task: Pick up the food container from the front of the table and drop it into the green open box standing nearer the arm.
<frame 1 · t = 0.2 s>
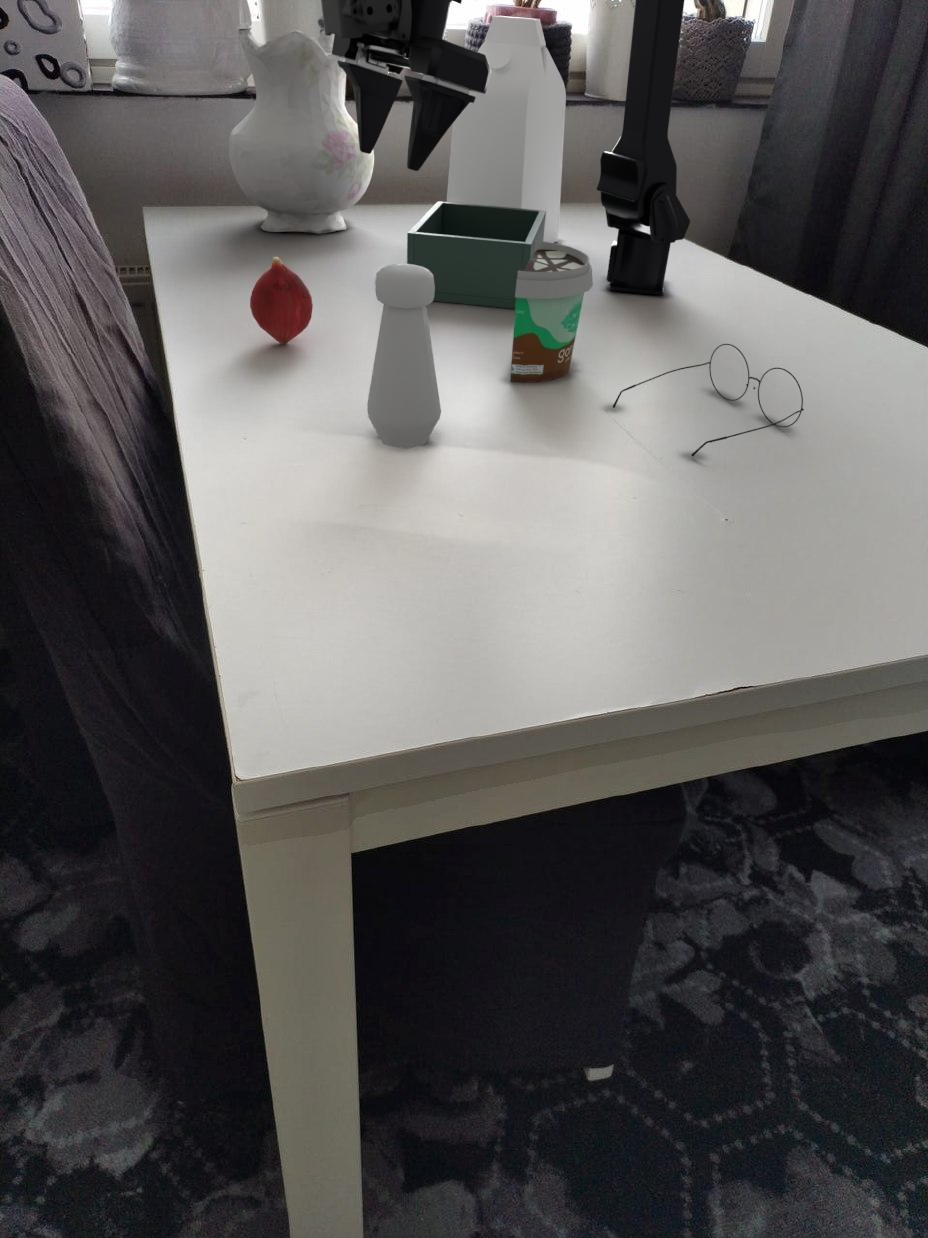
hand: (387, 160, 84), 15 cm above the table, tool pointing down, fingers open, 9 cm apart
milk: (501, 242, 124), on the table
ceramic pitcher: (309, 224, 127), on the table
salt shaker: (403, 439, 71), on the table
eyeglasses: (701, 423, 76), on the table
green open box: (477, 283, 107), on the table
food container: (549, 369, 85), on the table
onion: (284, 345, 87), on the table
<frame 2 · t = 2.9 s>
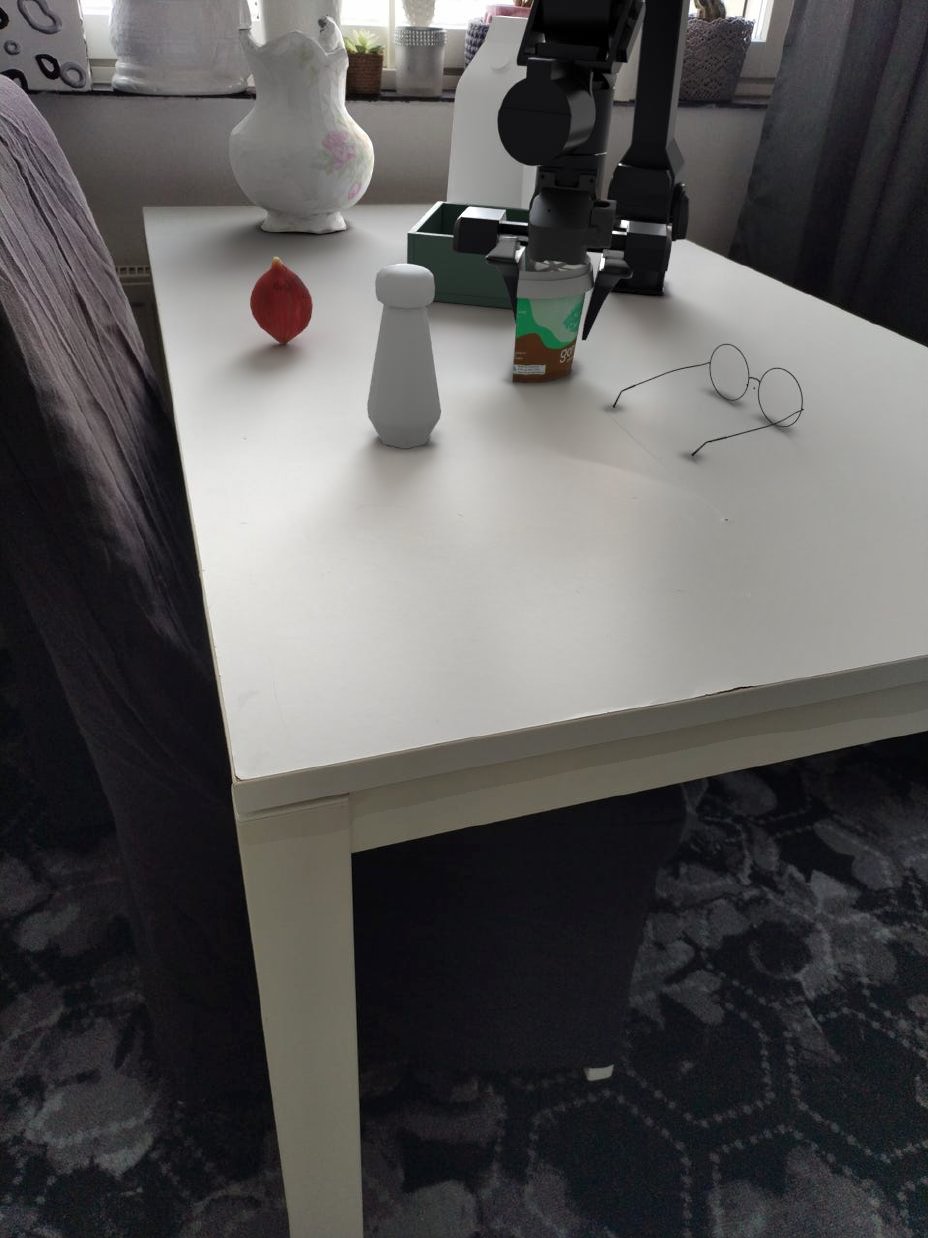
hand: (551, 335, 83), 3 cm above the table, tool pointing down, fingers closed on food container, 6 cm apart
food container: (551, 369, 85), on the table, touching gripper
everything else where it was.
when the fingers open (6 cm above the table, at t = 8.8 s): food container drops 2 cm, resting on green open box.
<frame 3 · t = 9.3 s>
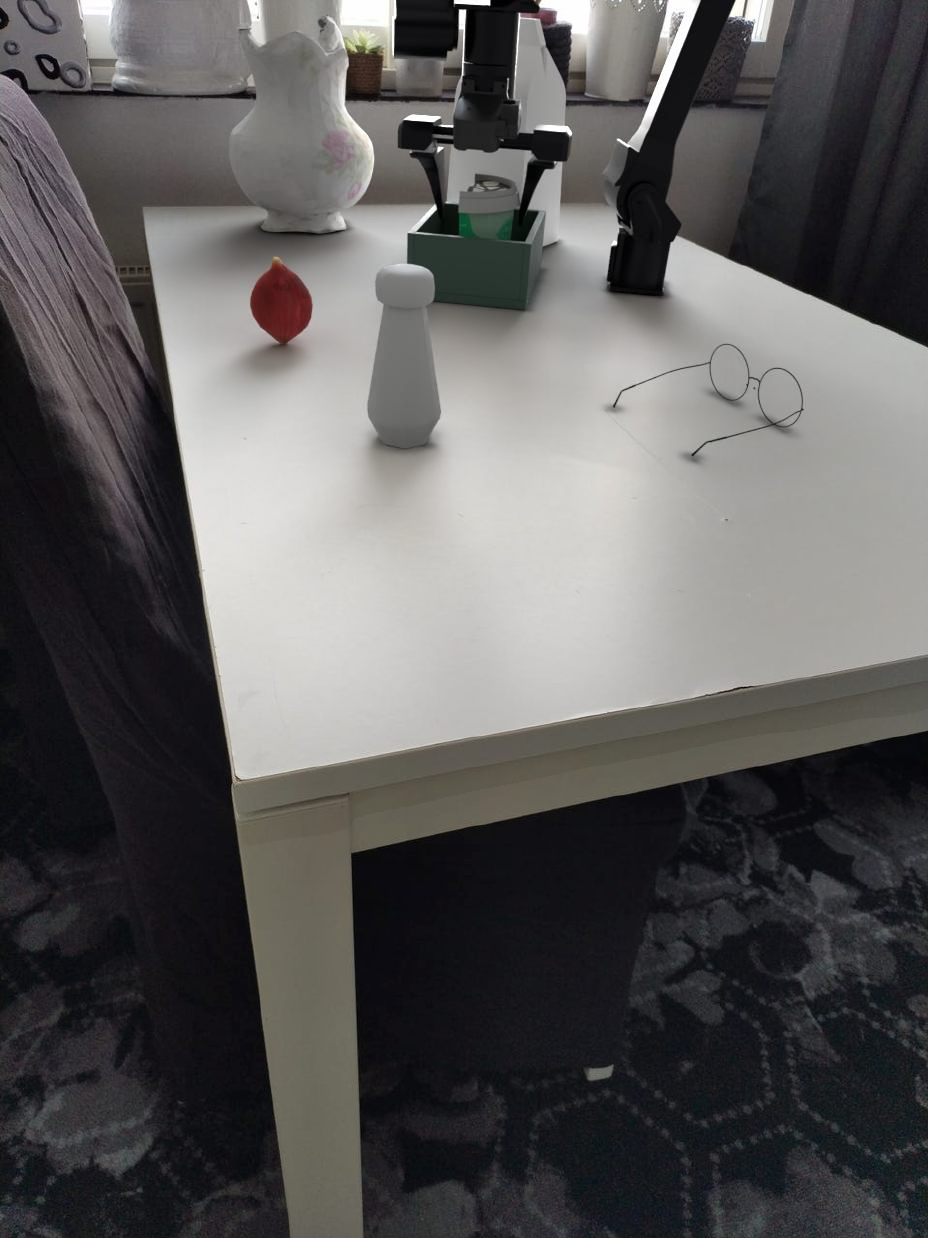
hand: (480, 221, 103), 7 cm above the table, tool pointing down, fingers open, 9 cm apart
food container: (489, 277, 106), point 1 cm above the table, touching green open box
everything else where it was.
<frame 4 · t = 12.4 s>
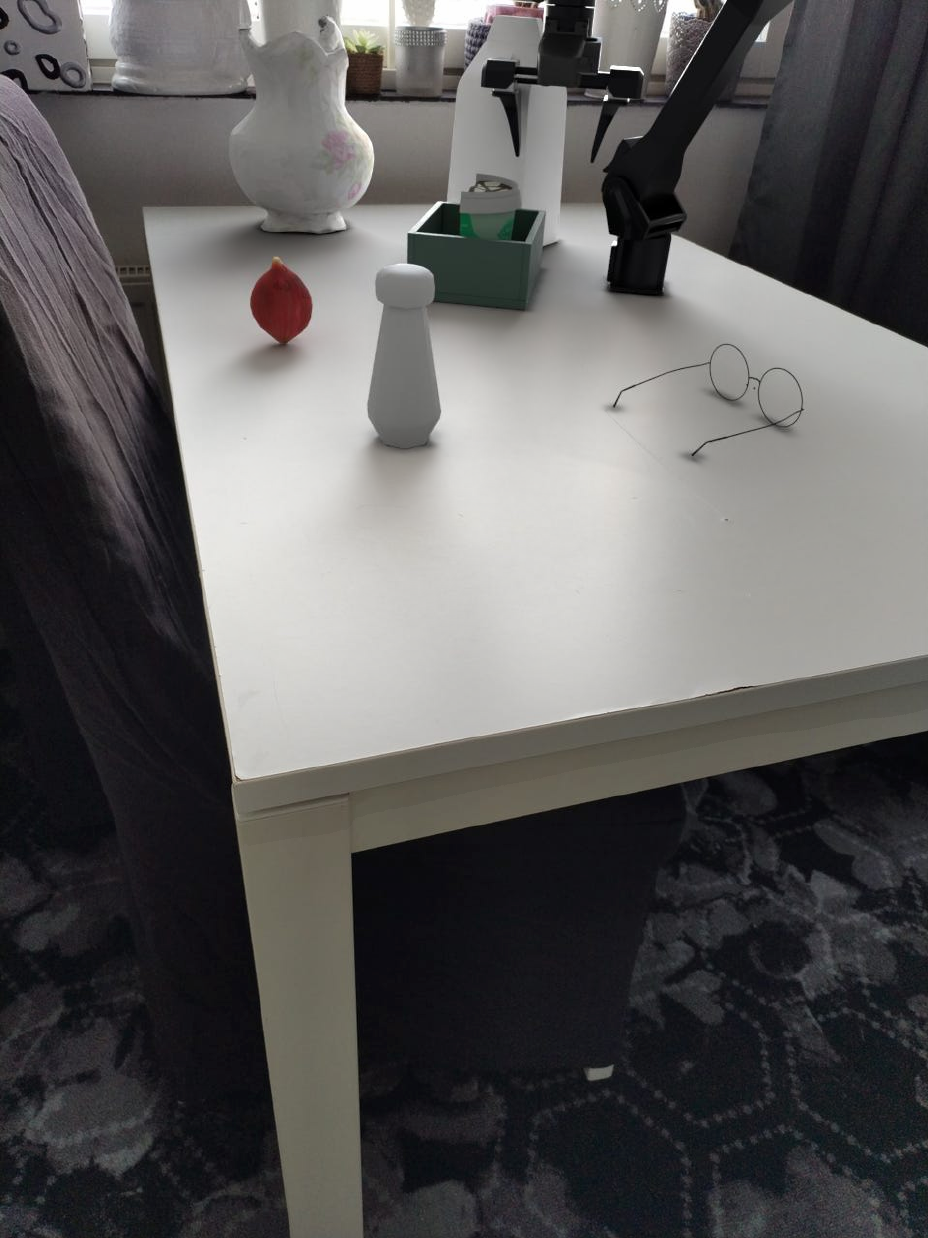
hand: (554, 159, 109), 12 cm above the table, tool pointing down, fingers open, 9 cm apart
milk: (501, 241, 124), on the table, touching gripper
everything else where it was.
at the end: food container inside the target area in the green open box (1.5 cm from its centre), point 0.8 cm above the green open box's base; the gripper is holding nothing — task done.
